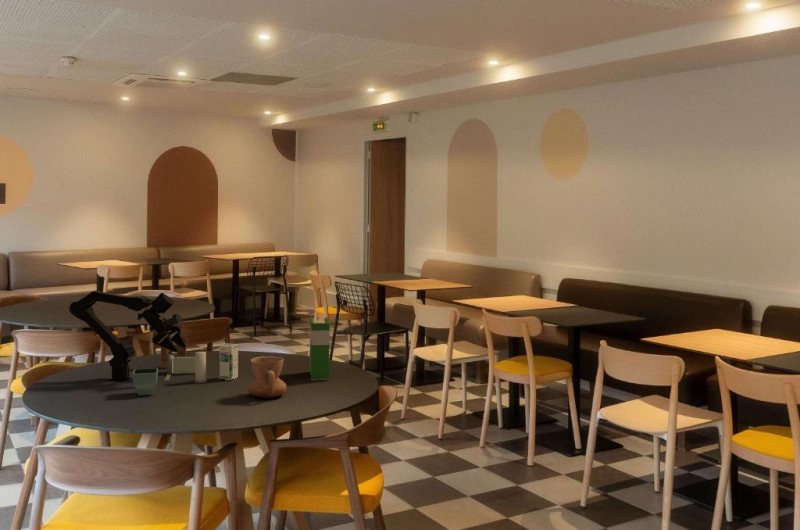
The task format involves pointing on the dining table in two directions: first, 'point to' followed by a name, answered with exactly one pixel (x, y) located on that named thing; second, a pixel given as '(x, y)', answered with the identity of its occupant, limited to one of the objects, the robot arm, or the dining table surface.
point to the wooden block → (165, 351)
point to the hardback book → (319, 348)
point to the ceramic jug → (267, 377)
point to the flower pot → (145, 380)
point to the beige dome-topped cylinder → (200, 367)
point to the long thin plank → (169, 367)
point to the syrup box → (228, 361)
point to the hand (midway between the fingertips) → (181, 349)
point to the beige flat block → (183, 365)
